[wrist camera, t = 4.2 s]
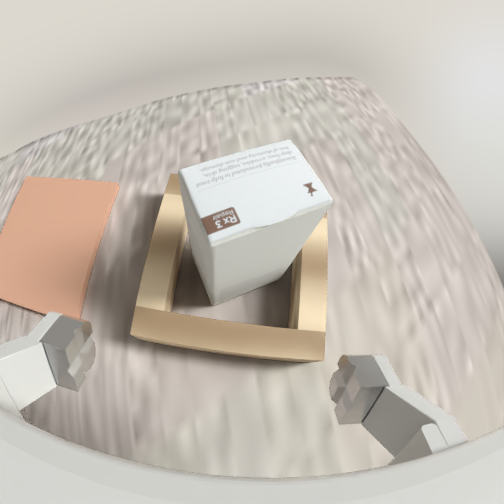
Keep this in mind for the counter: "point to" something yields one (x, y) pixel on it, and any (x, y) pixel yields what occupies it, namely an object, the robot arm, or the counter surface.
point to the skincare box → (250, 216)
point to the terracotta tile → (53, 242)
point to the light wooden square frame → (225, 332)
